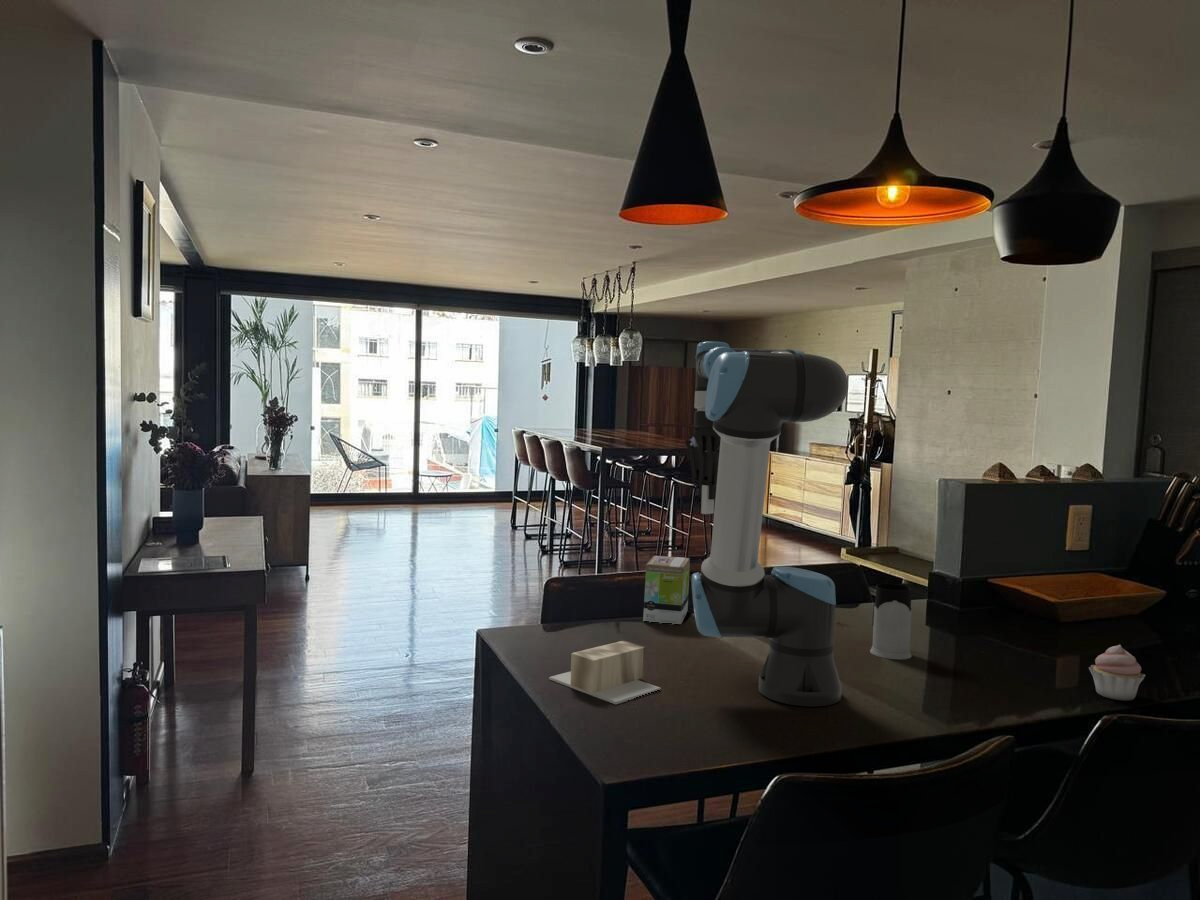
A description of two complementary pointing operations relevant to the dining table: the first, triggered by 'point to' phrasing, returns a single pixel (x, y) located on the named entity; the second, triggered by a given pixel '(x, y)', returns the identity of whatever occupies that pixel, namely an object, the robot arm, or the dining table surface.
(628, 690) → the mat
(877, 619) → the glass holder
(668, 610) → the tea box
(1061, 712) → the dining table surface
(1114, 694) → the cupcake
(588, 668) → the beech block
